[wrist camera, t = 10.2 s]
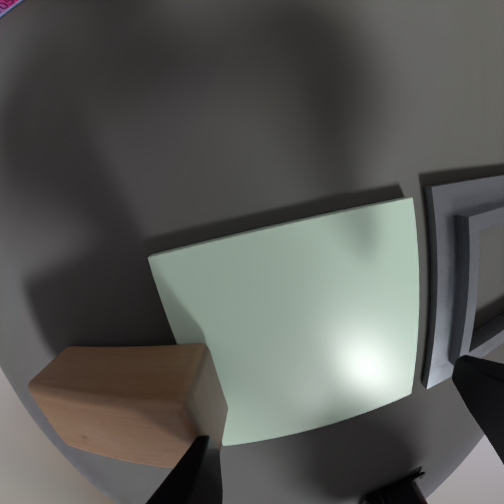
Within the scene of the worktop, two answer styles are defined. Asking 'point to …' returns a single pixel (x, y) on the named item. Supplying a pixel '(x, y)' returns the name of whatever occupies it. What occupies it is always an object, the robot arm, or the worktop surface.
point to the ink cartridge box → (7, 6)
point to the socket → (459, 271)
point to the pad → (301, 316)
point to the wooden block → (133, 400)
